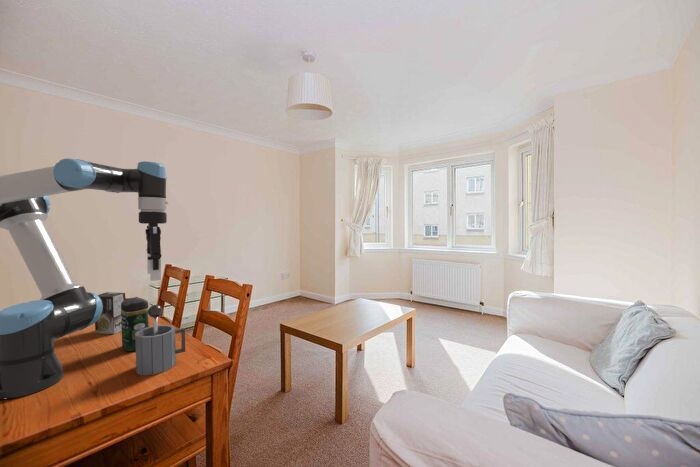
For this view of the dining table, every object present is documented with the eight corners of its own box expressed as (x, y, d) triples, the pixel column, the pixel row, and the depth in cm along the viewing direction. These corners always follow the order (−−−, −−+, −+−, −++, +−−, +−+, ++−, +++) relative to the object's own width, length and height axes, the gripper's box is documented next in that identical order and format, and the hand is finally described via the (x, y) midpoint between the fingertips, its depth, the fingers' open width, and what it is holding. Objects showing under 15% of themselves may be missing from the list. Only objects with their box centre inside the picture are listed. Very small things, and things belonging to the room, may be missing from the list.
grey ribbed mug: (136, 378, 91) (135, 340, 90) (135, 364, 99) (134, 329, 99) (187, 365, 99) (187, 330, 99) (182, 353, 108) (182, 321, 107)
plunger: (142, 365, 93) (140, 310, 92) (140, 355, 99) (139, 304, 98) (171, 358, 97) (170, 305, 97) (168, 349, 104) (167, 300, 103)
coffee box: (127, 328, 131) (126, 292, 130) (114, 334, 124) (113, 296, 123) (108, 327, 132) (107, 291, 131) (94, 333, 125) (93, 295, 124)
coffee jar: (119, 346, 113) (117, 298, 112) (143, 340, 119) (142, 294, 118) (127, 354, 107) (125, 303, 106) (152, 347, 113) (151, 298, 112)
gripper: (171, 211, 88) (172, 282, 89) (162, 211, 108) (163, 269, 109) (140, 210, 84) (141, 285, 85) (137, 211, 103) (138, 271, 105)
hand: (153, 276), depth 97 cm, fingers open, 13 cm apart
